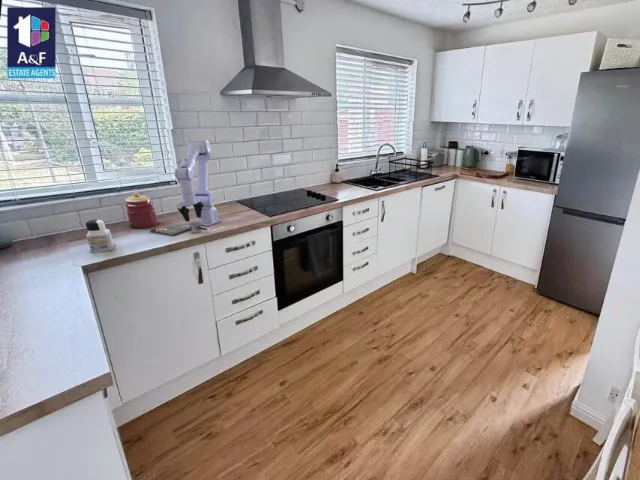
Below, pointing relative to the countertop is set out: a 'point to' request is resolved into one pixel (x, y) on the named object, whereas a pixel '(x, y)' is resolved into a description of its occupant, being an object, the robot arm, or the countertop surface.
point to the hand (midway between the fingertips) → (193, 219)
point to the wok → (196, 227)
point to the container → (98, 236)
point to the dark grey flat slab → (170, 229)
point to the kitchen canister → (140, 211)
